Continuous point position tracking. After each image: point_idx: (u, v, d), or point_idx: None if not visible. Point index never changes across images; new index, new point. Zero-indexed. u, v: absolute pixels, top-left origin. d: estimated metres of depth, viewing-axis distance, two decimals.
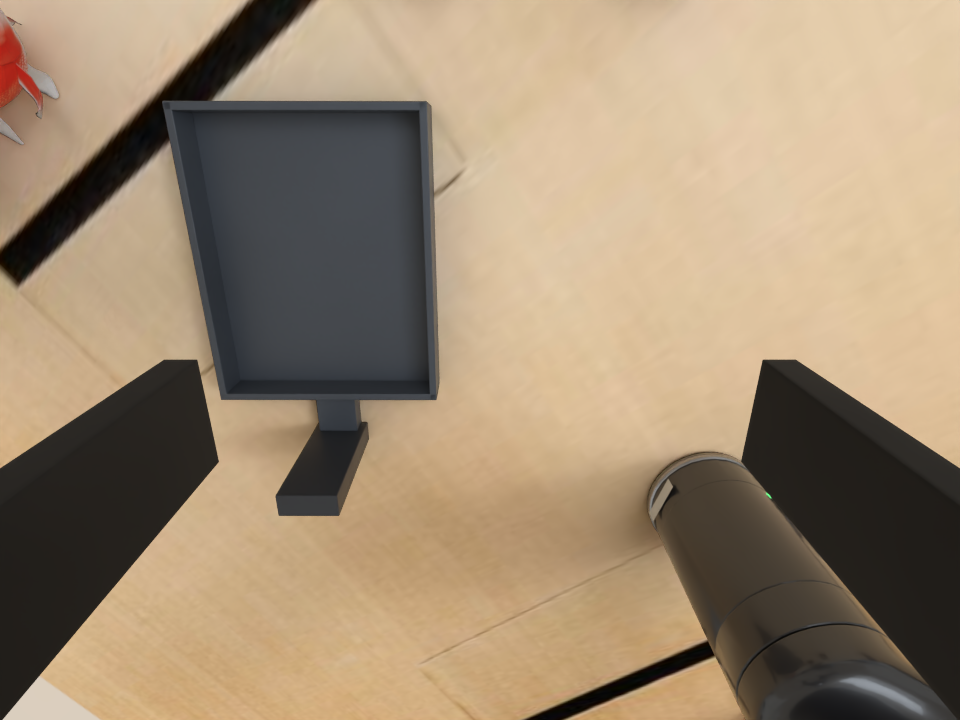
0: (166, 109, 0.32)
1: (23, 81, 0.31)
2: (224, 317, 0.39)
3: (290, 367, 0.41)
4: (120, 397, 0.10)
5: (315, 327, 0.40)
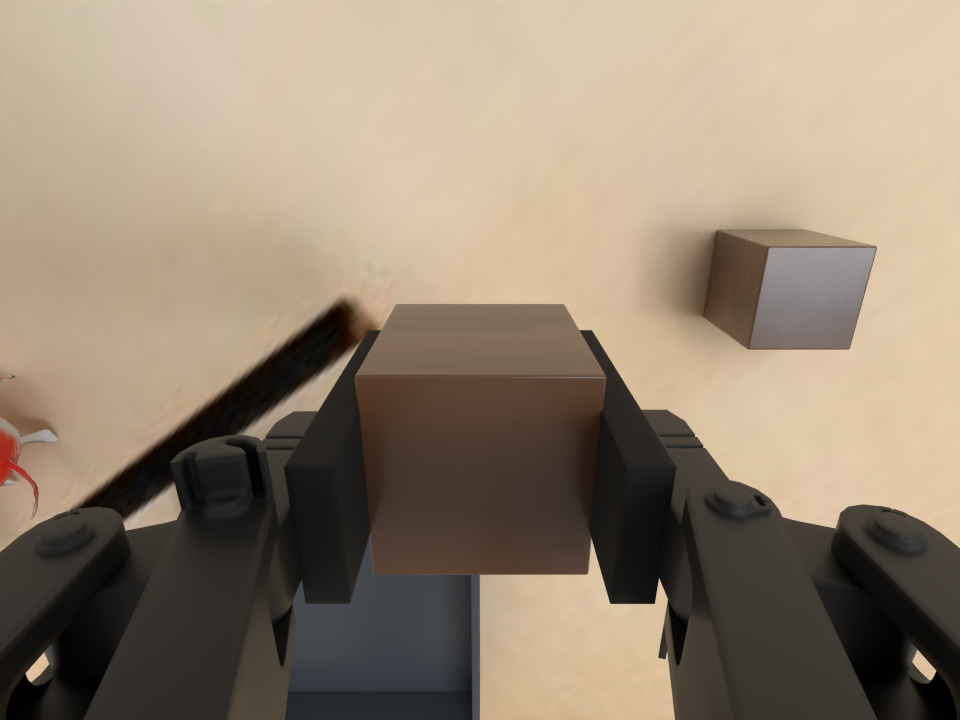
0: None
1: (16, 470, 0.27)
2: None
3: (315, 680, 0.37)
4: (362, 357, 0.12)
5: (343, 646, 0.36)
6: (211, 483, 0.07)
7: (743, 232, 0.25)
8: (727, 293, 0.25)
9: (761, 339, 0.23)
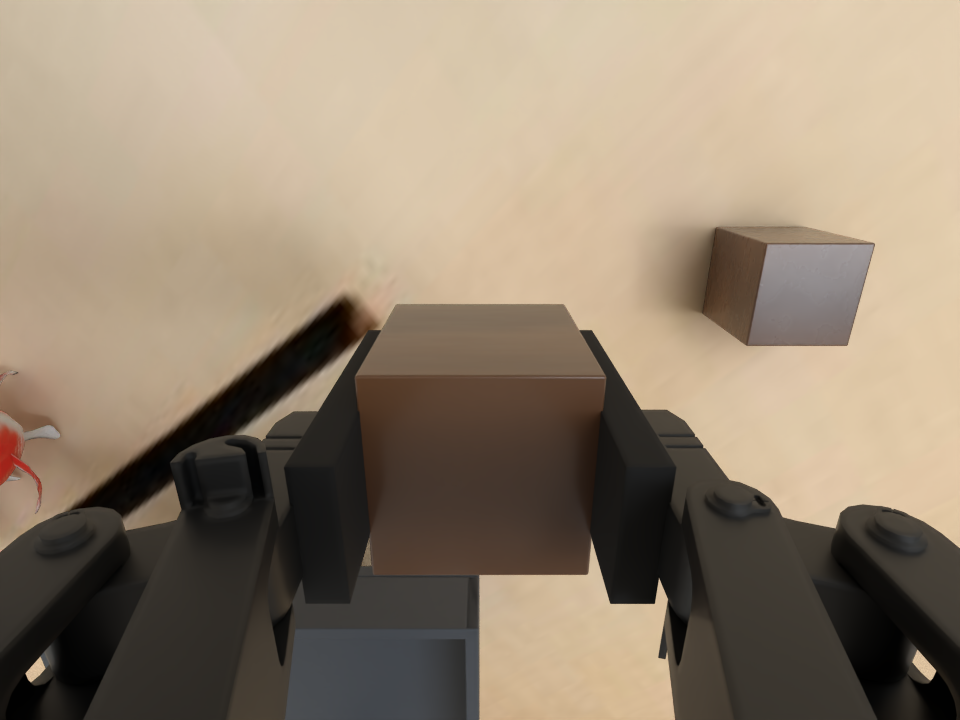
0: None
1: (19, 466, 0.27)
2: None
3: None
4: (362, 357, 0.12)
5: None
6: (212, 482, 0.07)
7: (742, 229, 0.25)
8: (726, 289, 0.25)
9: (760, 335, 0.23)
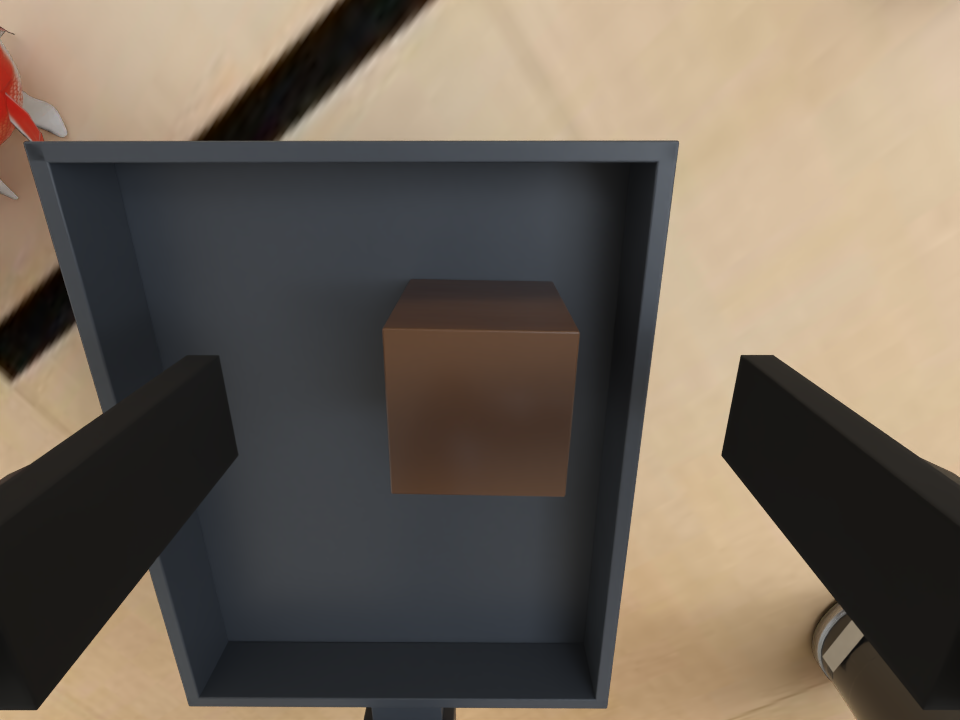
0: (35, 161, 0.13)
1: (16, 118, 0.21)
2: (194, 552, 0.20)
3: (320, 622, 0.22)
4: (148, 391, 0.10)
5: (369, 560, 0.21)
6: None
7: None
8: None
9: None
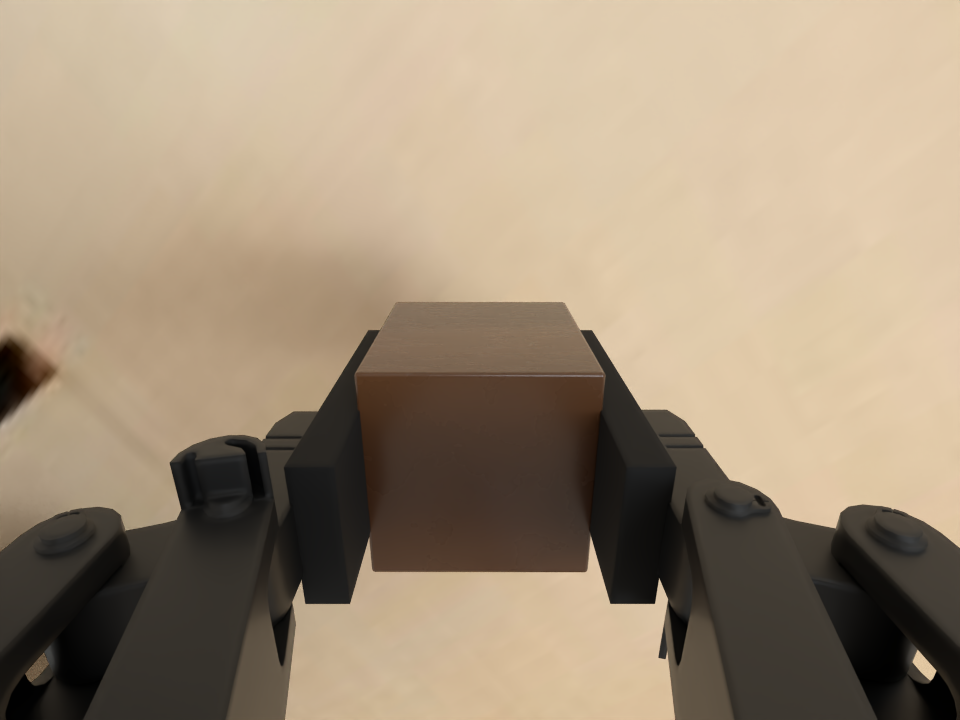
0: None
1: None
2: None
3: None
4: (362, 357, 0.12)
5: None
6: (211, 483, 0.07)
7: (425, 311, 0.13)
8: None
9: (395, 554, 0.11)
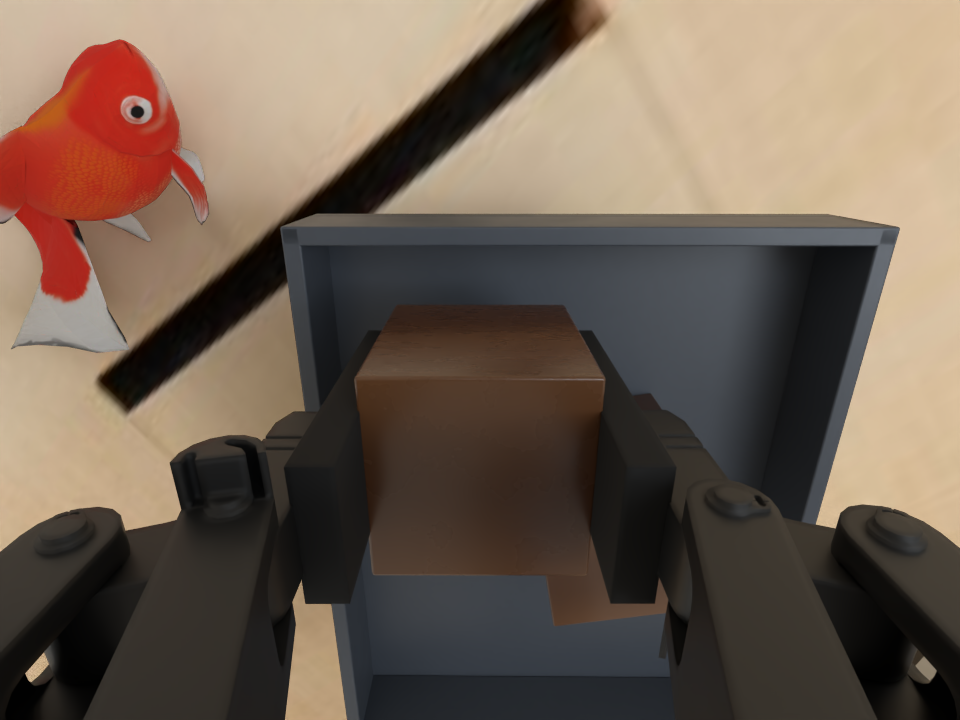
0: (289, 245, 0.14)
1: (178, 172, 0.22)
2: (359, 593, 0.21)
3: (465, 657, 0.23)
4: (362, 357, 0.12)
5: (520, 599, 0.21)
6: (211, 482, 0.07)
7: (425, 313, 0.13)
8: None
9: (395, 558, 0.11)
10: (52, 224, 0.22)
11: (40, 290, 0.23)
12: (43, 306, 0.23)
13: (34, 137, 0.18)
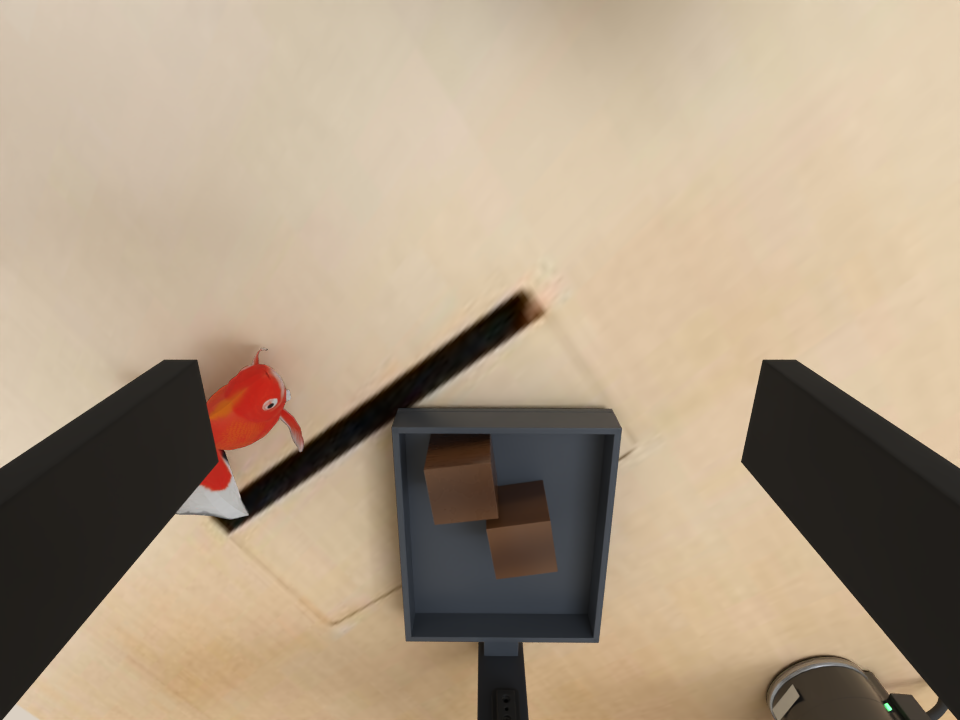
0: (394, 433, 0.37)
1: (284, 417, 0.36)
2: (411, 570, 0.43)
3: (461, 603, 0.46)
4: (120, 397, 0.10)
5: (487, 573, 0.44)
6: None
7: (441, 438, 0.39)
8: None
9: (440, 518, 0.36)
10: None
11: None
12: (196, 491, 0.37)
13: (213, 422, 0.33)
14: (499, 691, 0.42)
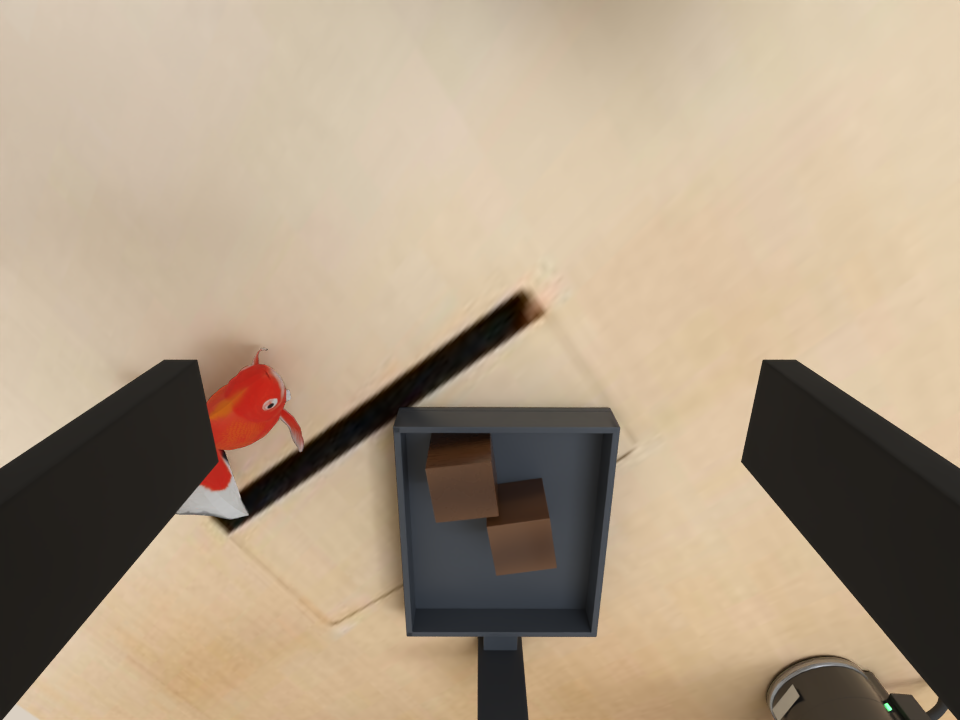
0: (396, 432, 0.37)
1: (284, 417, 0.36)
2: (412, 566, 0.44)
3: (461, 599, 0.46)
4: (120, 397, 0.10)
5: (487, 569, 0.45)
6: None
7: (441, 437, 0.39)
8: None
9: (441, 516, 0.37)
10: None
11: None
12: (196, 491, 0.37)
13: (213, 422, 0.33)
14: None
